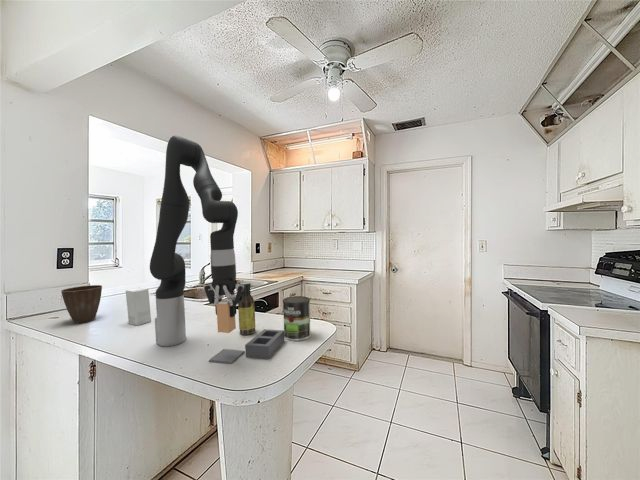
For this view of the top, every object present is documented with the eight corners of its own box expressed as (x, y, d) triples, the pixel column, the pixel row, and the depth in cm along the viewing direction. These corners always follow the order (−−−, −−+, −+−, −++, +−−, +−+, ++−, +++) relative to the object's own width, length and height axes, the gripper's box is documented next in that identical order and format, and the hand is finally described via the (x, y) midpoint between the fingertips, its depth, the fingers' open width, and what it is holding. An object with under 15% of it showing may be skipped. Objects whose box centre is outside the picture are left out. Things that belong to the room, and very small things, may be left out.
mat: (208, 361, 88) (208, 359, 88) (223, 350, 95) (223, 349, 95) (231, 363, 86) (231, 361, 86) (244, 352, 94) (244, 350, 94)
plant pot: (59, 323, 132) (56, 289, 132) (97, 314, 145) (95, 283, 144) (69, 328, 124) (66, 292, 123) (109, 319, 136) (106, 286, 136)
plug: (217, 332, 89) (216, 302, 89) (224, 327, 93) (223, 299, 92) (229, 332, 88) (227, 302, 88) (235, 328, 92) (234, 299, 92)
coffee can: (304, 342, 100) (303, 303, 100) (279, 339, 104) (277, 301, 103) (315, 332, 110) (313, 296, 110) (291, 329, 114) (290, 295, 113)
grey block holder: (245, 357, 90) (245, 344, 90) (264, 339, 104) (263, 329, 104) (268, 358, 88) (268, 346, 88) (284, 341, 102) (284, 330, 102)
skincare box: (151, 321, 130) (149, 288, 129) (135, 326, 124) (133, 291, 124) (142, 319, 134) (140, 287, 134) (127, 323, 129) (125, 289, 128)
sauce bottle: (257, 333, 111) (255, 283, 110) (242, 336, 108) (240, 285, 107) (252, 328, 116) (250, 281, 116) (237, 332, 113) (235, 283, 112)
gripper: (249, 261, 92) (251, 313, 92) (210, 262, 95) (213, 312, 96) (237, 264, 84) (240, 321, 85) (196, 265, 88) (199, 319, 88)
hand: (226, 316), depth 90 cm, fingers closed on plug, 4 cm apart
